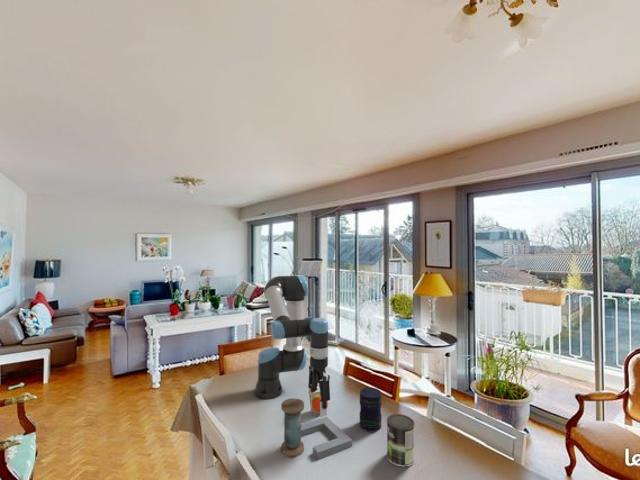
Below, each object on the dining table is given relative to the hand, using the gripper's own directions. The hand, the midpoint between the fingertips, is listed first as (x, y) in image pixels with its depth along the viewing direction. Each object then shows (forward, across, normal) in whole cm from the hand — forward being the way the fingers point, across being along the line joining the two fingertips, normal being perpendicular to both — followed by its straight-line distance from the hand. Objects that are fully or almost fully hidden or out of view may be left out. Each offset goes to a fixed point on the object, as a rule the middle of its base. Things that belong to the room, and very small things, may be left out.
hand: (318, 411), depth 131 cm
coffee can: (+12, +25, +22) cm, 36 cm away
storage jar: (+12, +2, +26) cm, 29 cm away
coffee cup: (+12, -19, +10) cm, 25 cm away
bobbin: (+12, 0, -12) cm, 17 cm away
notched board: (+12, 0, +2) cm, 12 cm away
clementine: (+1, 0, 0) cm, 1 cm away
